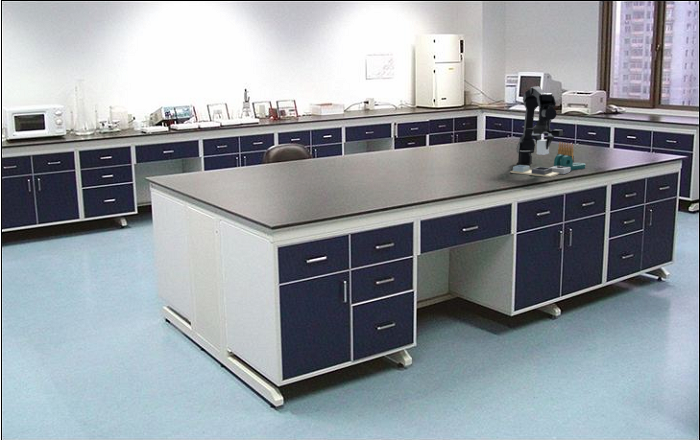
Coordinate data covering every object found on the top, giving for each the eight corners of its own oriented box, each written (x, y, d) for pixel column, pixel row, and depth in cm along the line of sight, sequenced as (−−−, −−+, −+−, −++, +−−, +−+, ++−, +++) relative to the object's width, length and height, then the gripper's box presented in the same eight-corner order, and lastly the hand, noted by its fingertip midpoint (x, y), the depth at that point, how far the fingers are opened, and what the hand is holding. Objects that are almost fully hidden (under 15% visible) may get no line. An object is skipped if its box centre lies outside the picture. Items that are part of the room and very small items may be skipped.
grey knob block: (549, 172, 373) (549, 166, 373) (555, 170, 379) (556, 164, 379) (564, 174, 369) (564, 168, 368) (570, 171, 374) (570, 166, 374)
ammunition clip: (573, 164, 396) (575, 143, 393) (571, 165, 395) (572, 143, 392) (558, 162, 405) (559, 141, 402) (556, 162, 404) (557, 141, 401)
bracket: (562, 171, 377) (563, 156, 376) (553, 169, 383) (554, 154, 381) (587, 168, 386) (588, 153, 384) (578, 166, 391) (579, 152, 389)
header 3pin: (512, 170, 375) (513, 166, 375) (519, 168, 380) (519, 164, 380) (523, 172, 371) (523, 167, 371) (529, 170, 377) (529, 165, 376)
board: (510, 172, 374) (510, 171, 374) (519, 169, 382) (519, 168, 382) (550, 177, 361) (550, 175, 361) (558, 174, 368) (558, 172, 368)
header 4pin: (531, 173, 368) (531, 169, 367) (539, 170, 374) (539, 166, 374) (544, 174, 363) (544, 170, 363) (551, 172, 370) (552, 168, 369)
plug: (536, 154, 366) (537, 140, 364) (542, 152, 371) (542, 139, 369) (543, 154, 363) (544, 141, 362) (549, 153, 368) (550, 139, 367)
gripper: (520, 118, 362) (518, 149, 366) (555, 120, 351) (553, 152, 354) (530, 117, 371) (528, 147, 374) (564, 118, 359) (562, 149, 363)
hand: (542, 149), depth 366 cm, fingers closed on plug, 4 cm apart
